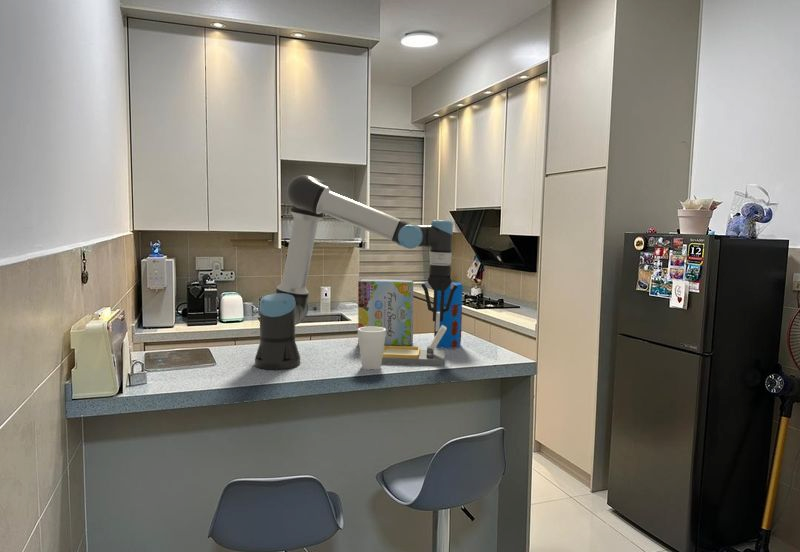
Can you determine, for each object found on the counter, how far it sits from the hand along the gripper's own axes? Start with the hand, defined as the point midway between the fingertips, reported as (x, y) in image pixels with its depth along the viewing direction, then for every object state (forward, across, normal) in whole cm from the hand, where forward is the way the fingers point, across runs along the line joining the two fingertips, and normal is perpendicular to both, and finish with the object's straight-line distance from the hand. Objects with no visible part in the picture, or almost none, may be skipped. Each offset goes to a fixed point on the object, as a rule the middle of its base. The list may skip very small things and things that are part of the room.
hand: (437, 330), depth 192 cm
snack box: (+11, -21, +25) cm, 34 cm away
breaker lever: (+8, -3, 0) cm, 9 cm away
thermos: (+11, +4, +25) cm, 28 cm away
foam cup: (+11, -22, -13) cm, 27 cm away
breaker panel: (+11, -10, 0) cm, 15 cm away
